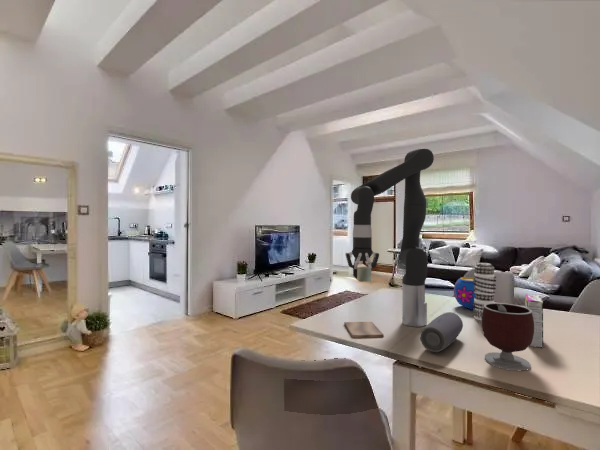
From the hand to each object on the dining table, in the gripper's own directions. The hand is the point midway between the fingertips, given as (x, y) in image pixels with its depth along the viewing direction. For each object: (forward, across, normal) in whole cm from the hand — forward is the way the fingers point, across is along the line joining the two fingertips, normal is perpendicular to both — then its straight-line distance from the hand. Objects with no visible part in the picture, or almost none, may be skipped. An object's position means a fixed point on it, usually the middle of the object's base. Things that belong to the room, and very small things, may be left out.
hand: (362, 277), depth 134 cm
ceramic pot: (+22, +64, +29) cm, 73 cm away
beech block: (-2, 0, +7) cm, 7 cm away
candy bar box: (+22, +59, -17) cm, 65 cm away
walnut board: (+21, 0, -1) cm, 21 cm away
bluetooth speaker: (+22, +25, -18) cm, 37 cm away
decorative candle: (+21, +59, +12) cm, 64 cm away
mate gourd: (+22, +37, -33) cm, 55 cm away
